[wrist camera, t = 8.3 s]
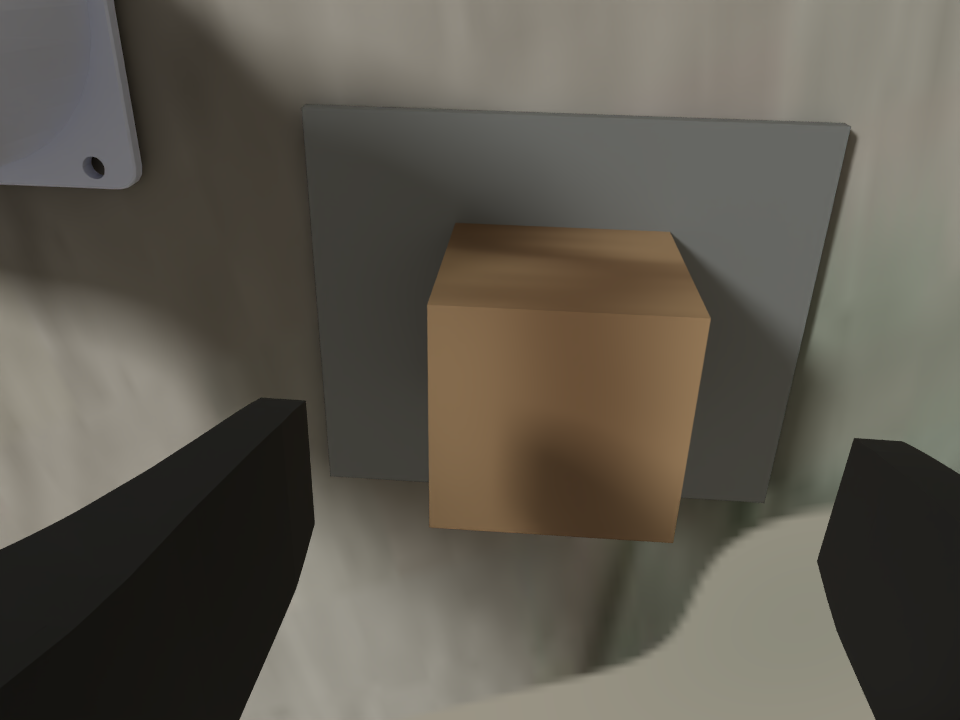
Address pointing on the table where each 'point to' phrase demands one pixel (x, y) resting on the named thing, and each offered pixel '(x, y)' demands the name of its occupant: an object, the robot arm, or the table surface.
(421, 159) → the mat
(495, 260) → the cube
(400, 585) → the table surface
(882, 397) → the table surface
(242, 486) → the robot arm
